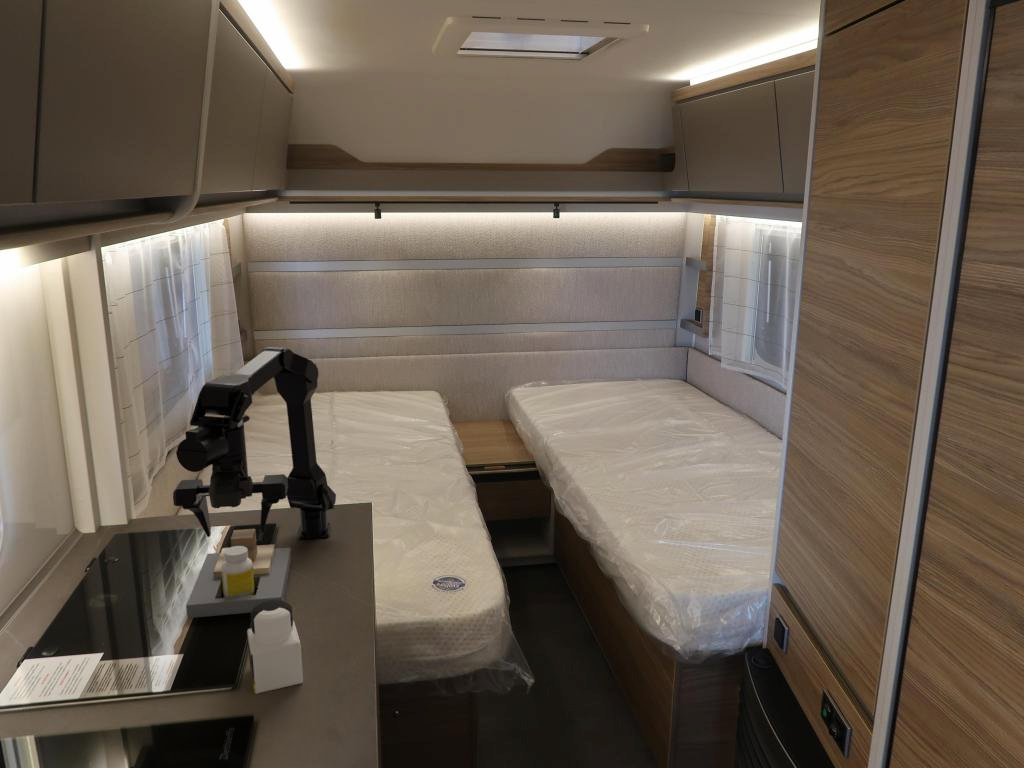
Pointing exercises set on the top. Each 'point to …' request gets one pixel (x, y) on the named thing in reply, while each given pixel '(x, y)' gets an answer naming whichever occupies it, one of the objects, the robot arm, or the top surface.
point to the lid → (249, 552)
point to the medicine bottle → (274, 647)
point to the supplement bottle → (237, 573)
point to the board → (269, 587)
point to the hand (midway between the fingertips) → (236, 534)
